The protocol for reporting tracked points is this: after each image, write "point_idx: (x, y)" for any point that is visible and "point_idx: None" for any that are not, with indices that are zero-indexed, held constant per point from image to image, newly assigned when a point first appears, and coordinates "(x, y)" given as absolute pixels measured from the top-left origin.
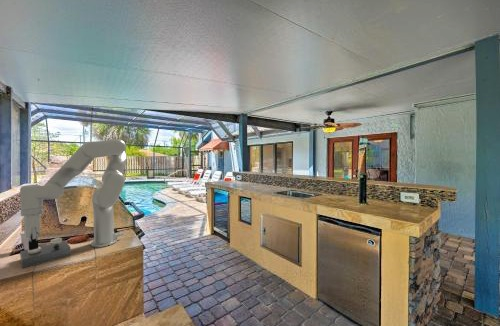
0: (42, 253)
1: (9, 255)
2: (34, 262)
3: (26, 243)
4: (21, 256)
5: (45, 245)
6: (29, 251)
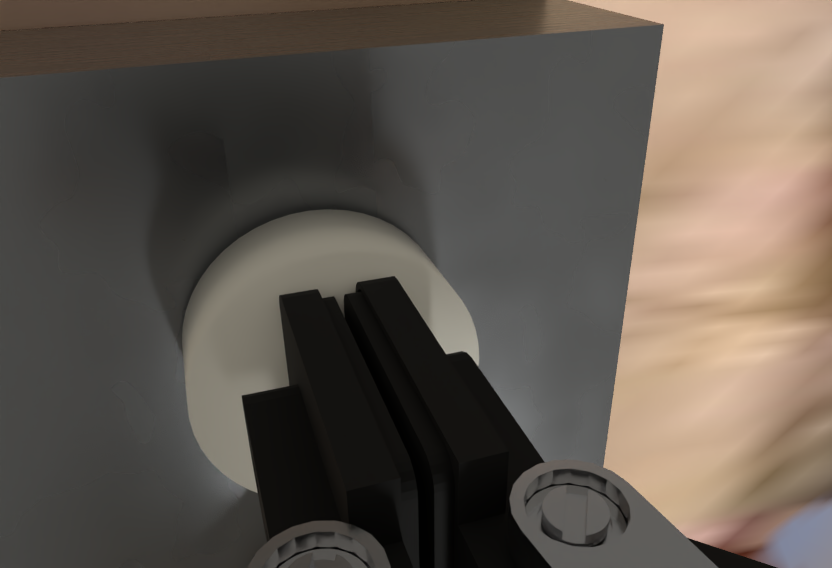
0: (55, 495)
1: None
2: None
3: None
4: (178, 64)
5: (602, 455)
6: (234, 283)
